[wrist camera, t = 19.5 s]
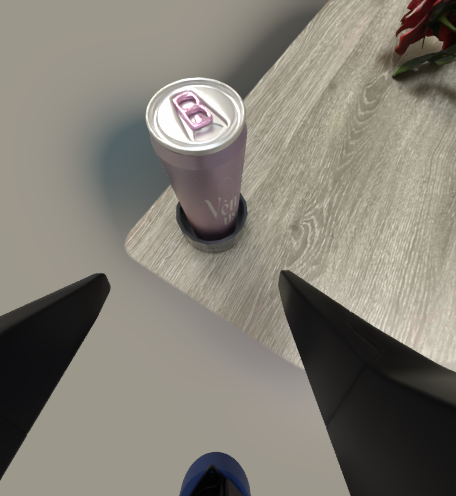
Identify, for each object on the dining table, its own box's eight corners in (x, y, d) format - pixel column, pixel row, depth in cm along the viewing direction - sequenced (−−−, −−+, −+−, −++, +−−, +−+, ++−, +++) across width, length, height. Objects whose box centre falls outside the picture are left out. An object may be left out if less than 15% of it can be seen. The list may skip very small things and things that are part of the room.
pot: (216, 265, 23) (214, 259, 19) (171, 227, 25) (161, 214, 21) (256, 221, 25) (261, 206, 21) (211, 188, 26) (209, 169, 23)
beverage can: (221, 197, 25) (213, 62, 11) (244, 230, 24) (271, 123, 10) (184, 217, 24) (124, 98, 10) (206, 252, 23) (172, 172, 9)
